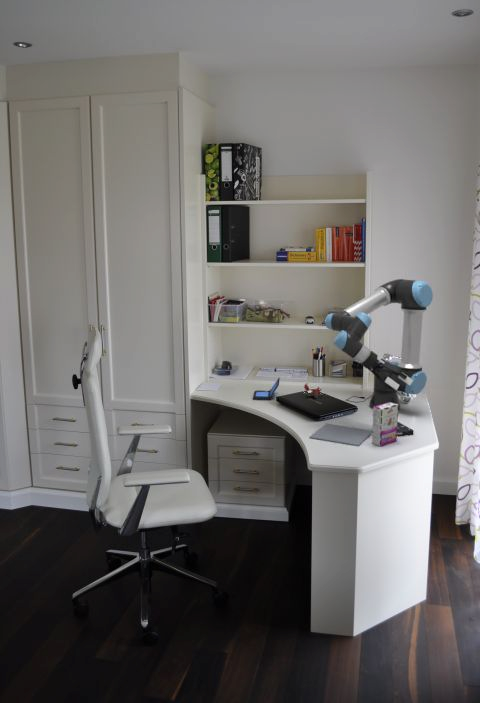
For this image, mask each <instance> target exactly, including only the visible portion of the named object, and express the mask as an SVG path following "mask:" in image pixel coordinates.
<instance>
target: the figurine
mask: <svg viewBox="0 0 480 703" xmlns="http://www.w3.org/2000/svg"><path fill="white" fill-rule="evenodd" d="M308 384H309V382H307V383H305V384H304V385H303V388H304V390H306V391H307V392H308V393H313V394H314V395H318V393H319V392H321V393H323V394H324V391H322V388H321V387H320V386H319V387H317V388H314V390H311V389H310V387H309V385H308ZM303 392H304V393H306V392H305V391H303ZM304 393H303V394H304ZM321 393H320V394H321Z"/></svg>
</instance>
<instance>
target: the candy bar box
mask: <svg viewBox="0 0 480 703" xmlns="http://www.w3.org/2000/svg"><path fill="white" fill-rule="evenodd" d="M398 418H399V410H398V404H395V403H391V402H389V403H385V404H382V405H378V406H375V407H373V409H372V430H373V431H372V434H371V436H372V438H371V443H372V445H374V446H378V447H382V446H383V447H384V446H386V445H389V444H392V443H395V442H397V440H398V437H397V422H399V421H398Z"/></svg>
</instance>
